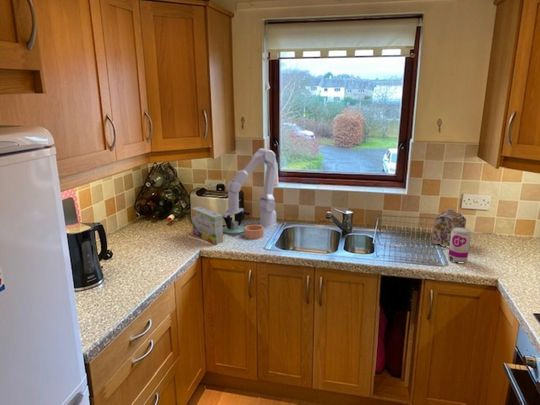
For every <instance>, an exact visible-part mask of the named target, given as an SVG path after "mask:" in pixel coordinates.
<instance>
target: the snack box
mask: <svg viewBox="0 0 540 405" xmlns="http://www.w3.org/2000/svg"><path fill="white" fill-rule="evenodd" d="M191 220H192V234H193V235H195V236H196V237H199V238H201V239H203V240H204V241H208V243H210V244H211V245H214V246H217V245H219V244H222V243H224V234H223V227H224V226H223V224H224V222H223V214H220V213H217V212H215V211H212V210H209V209H206V208H204V207H202V206H196V207H192V208H191Z"/></svg>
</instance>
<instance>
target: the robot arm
mask: <svg viewBox="0 0 540 405" xmlns="http://www.w3.org/2000/svg"><path fill="white" fill-rule="evenodd" d="M259 164H265V166H266V171H265V179H264V184H263V191H262V192H263V193H261V195H260V198H259V200H258V207H259V210H260V216H259V218H260V219H259V220H260V221H259V224H257V225H260V226H263V227H264V228H265V229H266V228H267V229H268V228H271V227H274V226H277V225H278V223H277V212H276V210H275V208H276V202H275V200H276V199H275V197H274V188H275V180H276V176H277V168H278V167H277V166H278V163H277V159H276V153H275V152H274V151H273V150H271V149H267V148H266V149H265V148H264V147H263V148H259V149H257V151H256V152H254V155H253V157H252V158H251V159H250V161H249V162H248V163H247V165H246V166H245V167H244V168H243V169H241V170H239V171H237V172H236V173H237V174H236V175H235V176H234V177H232V178H231V180H230V181H228V182H227V183H226V186H225V188H226V190H227V199H228V200H227V205H228V206H227V207H228V209H227V211H226V212H223V213H222V220H224V223H225V226H227V229H231V222H232V221H233V217H232V216H235V221H238V226H241V223H242V220H243V218H244V216H245V213H244V208H243V207H240V202H239V201H240V200H239V199H240V196H239V192H240V191H241V188H242V185H244V183H245V182H246V181H247V179H248V178H249V176H250V173H251V172H252V171H253V170H254V169H255V168H256V167H257V165H259Z"/></svg>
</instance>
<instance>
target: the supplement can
mask: <svg viewBox="0 0 540 405" xmlns="http://www.w3.org/2000/svg"><path fill="white" fill-rule="evenodd" d="M471 238H472V233H471V230H470V229H469V228H466V227H465V228H458V227H457V228H454V229H453V230H452V232H451V239H450V246H449V248H448V254H447V255H448V256H447V259H448V261H450V260H451V261H454V262H465V263H466V261H467V262H468V258H469V251H470V246H471ZM451 261H450V262H451ZM454 262H453V263H454Z"/></svg>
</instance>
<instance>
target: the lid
mask: <svg viewBox="0 0 540 405" xmlns="http://www.w3.org/2000/svg"><path fill="white" fill-rule="evenodd" d="M244 228H245V226H243V225H240V226H238V221H236V220H233V219H232V222H231V229H227V226H226V225H225V226H223V232H224V233H228V234H239V233H243V232H244ZM243 234H244V233H243Z"/></svg>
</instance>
